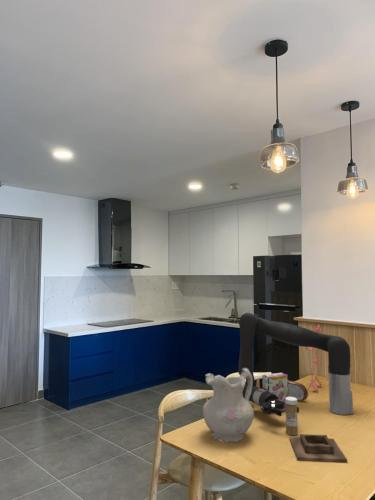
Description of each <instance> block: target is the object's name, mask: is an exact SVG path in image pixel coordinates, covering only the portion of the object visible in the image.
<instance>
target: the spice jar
mask: <svg viewBox="0 0 375 500" xmlns="http://www.w3.org/2000/svg"><path fill="white" fill-rule="evenodd" d="M285 403H286V411H285V428H286V430H285V433H286V434H287V435H290V436H297V435H298V434H299V433H298V413H297V407H298V401H297V398H295V397H286V398H285Z"/></svg>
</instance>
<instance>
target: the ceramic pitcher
mask: <svg viewBox="0 0 375 500" xmlns="http://www.w3.org/2000/svg"><path fill="white" fill-rule="evenodd" d="M246 378H247V380H248V387H247V390H246V395H245V398H244V397H243V394H242V393H243V388H244V386H245V382H246ZM205 382H206V384H207V385H209V386H211V387H212V391H213V395H212V396H211V398H210V399H208V400H207V401H206V402H205V403H204V405H203V406H202V407H203V408H202V414H203V415H202V416H203V419H204V423H205V425H206V426H207V427H208V429H209V430H210V431H212V432H213V433H212V434H211V435H210V438H212V439H214V440H218V441H220V442H221V441H222V442H224V443H239V442H241V441H242V440H243V439H244V433H247V431H248V430H249V429H250V427H251V426H252V423H253V421H254V415H255V412H254V409H253V406H252V405H251V404H250V401H249V397H250V395H251V391H252V385H253V378H252V375H251V373H250V372H249V369H248V368H247V369H246V368H245V369H244V368H242V373H241V375H238V376H230V377H227V378H226V377H224V376H222V375H220V374H217V375H214V374H213V373H210V372H209V373H206V374H205Z"/></svg>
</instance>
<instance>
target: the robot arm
mask: <svg viewBox="0 0 375 500" xmlns="http://www.w3.org/2000/svg"><path fill="white" fill-rule="evenodd" d="M238 325H239V334H240V335H239V336H240V344H239V345H240V347H239V360H238V376H240V375H241V373H242V368H244V369H245V368H246V369H247V368H248V369H249V372H250V373H251V375H252V378H253V385H252V391H251V395H250V397H249V402H251V403H253V404H254V405H256V406H258V407H259V408H260V410H261V411H262V412H264V413H266V414H268V415H277V416H278V417H282V415H283V414H282V413H283V412H282V411H281V410H286V408H284V404H285V407H286V403H285V401H282V400H280V399H278V397H277V396H276V395H275V394H273V393H271V392H269V391H266V390H263V388H261V387H257V385H256V381H255V376H254V367H255V366H254V363H255V355H254V354H255V351H254V341H255V340H254V339H255V334H260V335H265V336H268V337H270V338H273V339H275V340H277V341H280V342H283V343H286V344H289V345H292V346H296V347H303V348H306V347H313V348H315V349H318V350H321V351H324V352H327V353H328V354H327V356H328V360H327V361H328V367H327V369H328V370H327V371H328V395H329V396H328V400H329V405H328V406H329V412H330V413H333V414H335V415H341V416H343V415H344V416H347V415H353V414H354V402H353V399H354V398H353V391H352V390H351V389H352V387H351V386H352V384H351V348H350V344H349V343H348V341H347V340H346V339H345V338H344V337H341V336H339V335H332V334H331V335H330V334H325V333H322V332H321V333H317V332H316V331H314V330H312V329H308V328H306V327H302V326H299V325H296V324H292V323H286V322H282V321H273V320H269V319H265V318H263V317H259V316H257V315H255V314H253V313H251V312H245V313H243V314H242V315H240V316H239V319H238ZM313 348H312V349H313ZM247 387H248V380H247V378H246V379H245V386H244V388H243V393H242V394H243V397H244V398H245V395H246V390H247ZM299 412H300V407H299V406H297V414H299ZM270 413H272V414H270Z"/></svg>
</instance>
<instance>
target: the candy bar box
mask: <svg viewBox="0 0 375 500" xmlns="http://www.w3.org/2000/svg"><path fill="white" fill-rule="evenodd" d="M288 377H289V374H287V373H283V372H277V373H267V374H262V377H261V378H262V389H263V390H266V391H269V392H271V393H273V394H275V395H276V396H277V397H278V399H280V400H282V401H285V398H286V397H288V380H289V378H288ZM284 408H286V407H285V404H284ZM281 411H282V413H284V412H286V410H281ZM269 415H273V414H272V413H270V414H269Z"/></svg>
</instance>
